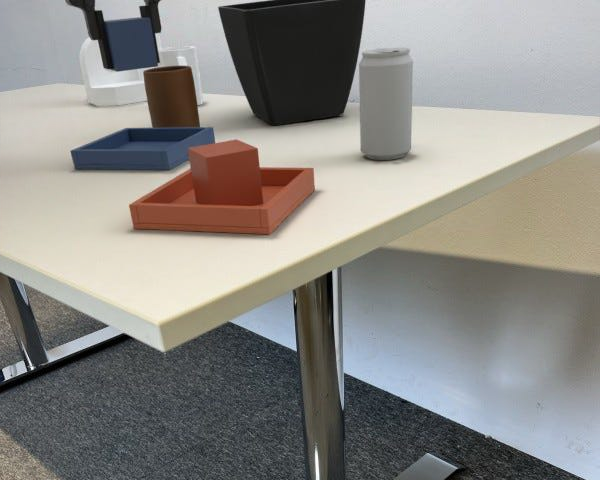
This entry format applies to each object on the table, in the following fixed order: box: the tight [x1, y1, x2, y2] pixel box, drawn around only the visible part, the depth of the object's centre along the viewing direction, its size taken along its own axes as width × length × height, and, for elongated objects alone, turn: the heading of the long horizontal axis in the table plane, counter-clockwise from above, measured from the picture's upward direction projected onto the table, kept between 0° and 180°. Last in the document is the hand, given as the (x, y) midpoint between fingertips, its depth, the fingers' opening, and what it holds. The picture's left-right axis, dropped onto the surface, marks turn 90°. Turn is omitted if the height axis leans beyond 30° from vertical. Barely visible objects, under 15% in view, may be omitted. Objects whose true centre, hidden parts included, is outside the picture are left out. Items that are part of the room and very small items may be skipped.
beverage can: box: [358, 47, 414, 161], centre depth 80 cm, size 6×6×12 cm
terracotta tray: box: [128, 166, 316, 235], centre depth 68 cm, size 15×15×2 cm
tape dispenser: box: [78, 33, 163, 107], centre depth 136 cm, size 16×10×13 cm, turn 120°
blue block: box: [104, 16, 158, 72], centre depth 85 cm, size 6×6×6 cm
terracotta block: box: [188, 139, 263, 206], centre depth 67 cm, size 6×6×6 cm
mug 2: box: [155, 45, 204, 106], centre depth 125 cm, size 12×9×10 cm
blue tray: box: [70, 126, 216, 171], centre depth 92 cm, size 15×15×2 cm
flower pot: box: [217, 0, 367, 126], centre depth 106 cm, size 19×19×17 cm
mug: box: [143, 66, 201, 128], centre depth 104 cm, size 12×8×9 cm, turn 23°
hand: (131, 64), depth 86 cm, fingers closed on blue block, 5 cm apart
